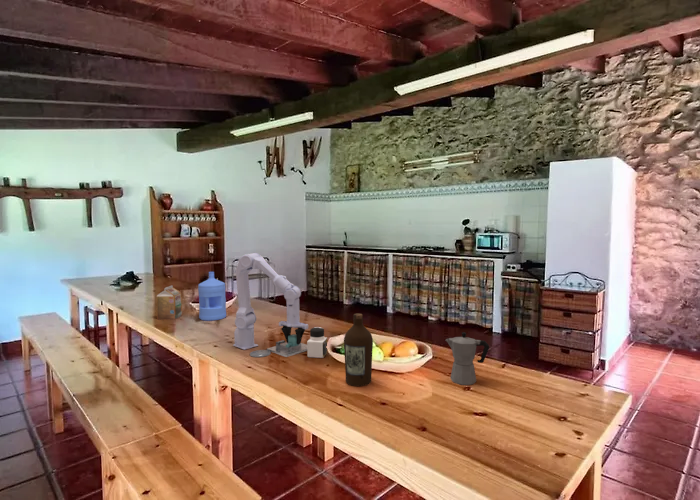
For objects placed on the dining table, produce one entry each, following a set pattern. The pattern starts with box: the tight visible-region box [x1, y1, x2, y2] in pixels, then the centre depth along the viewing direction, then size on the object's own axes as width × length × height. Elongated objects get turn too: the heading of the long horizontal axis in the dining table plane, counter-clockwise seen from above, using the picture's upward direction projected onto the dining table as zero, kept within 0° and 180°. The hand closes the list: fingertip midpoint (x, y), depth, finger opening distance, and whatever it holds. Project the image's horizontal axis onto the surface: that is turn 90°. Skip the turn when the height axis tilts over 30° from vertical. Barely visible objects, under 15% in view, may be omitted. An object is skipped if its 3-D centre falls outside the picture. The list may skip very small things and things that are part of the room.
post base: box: [266, 339, 307, 358], centre depth 189 cm, size 14×16×5 cm
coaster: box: [249, 349, 272, 358], centre depth 184 cm, size 9×9×1 cm
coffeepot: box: [445, 331, 490, 386], centre depth 151 cm, size 15×9×18 cm, turn 68°
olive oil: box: [343, 313, 374, 387], centre depth 151 cm, size 11×11×25 cm
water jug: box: [197, 271, 227, 322], centre depth 250 cm, size 16×16×28 cm
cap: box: [286, 333, 299, 347], centre depth 186 cm, size 5×8×4 cm, turn 154°
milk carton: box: [156, 284, 183, 321], centre depth 252 cm, size 11×11×19 cm
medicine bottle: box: [306, 326, 328, 359], centre depth 181 cm, size 7×7×12 cm
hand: (293, 343), depth 188 cm, fingers closed on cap, 5 cm apart
